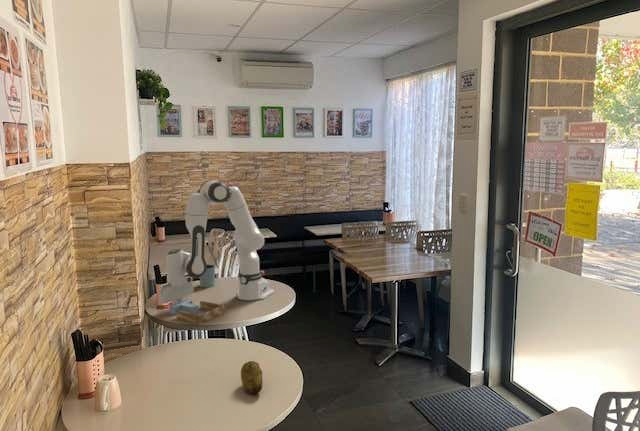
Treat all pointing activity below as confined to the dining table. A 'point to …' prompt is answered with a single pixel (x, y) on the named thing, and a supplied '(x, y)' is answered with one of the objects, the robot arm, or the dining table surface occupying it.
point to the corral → (214, 311)
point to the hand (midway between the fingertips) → (177, 306)
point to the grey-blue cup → (208, 277)
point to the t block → (184, 307)
